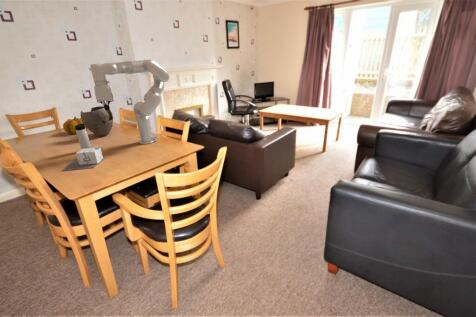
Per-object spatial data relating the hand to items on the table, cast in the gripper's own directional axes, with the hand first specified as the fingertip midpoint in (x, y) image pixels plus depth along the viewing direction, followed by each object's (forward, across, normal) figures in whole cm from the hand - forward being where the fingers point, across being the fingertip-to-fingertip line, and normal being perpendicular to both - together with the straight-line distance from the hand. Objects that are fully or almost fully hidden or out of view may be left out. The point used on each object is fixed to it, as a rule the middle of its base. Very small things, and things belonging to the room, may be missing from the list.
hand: (107, 110), depth 169 cm
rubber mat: (+29, +14, +24) cm, 40 cm away
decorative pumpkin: (+29, +51, -62) cm, 85 cm away
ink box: (+24, +4, +24) cm, 34 cm away
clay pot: (+29, +24, -43) cm, 57 cm away
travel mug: (+29, +22, -3) cm, 37 cm away
